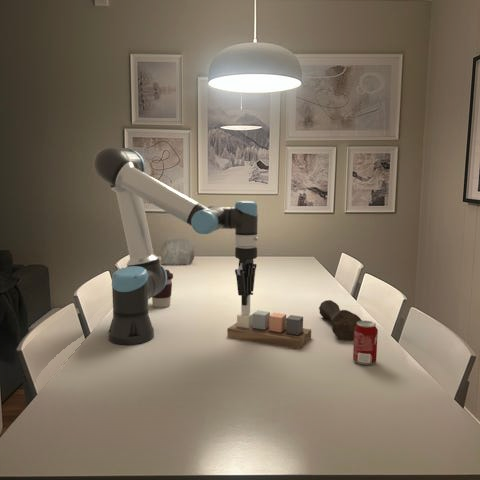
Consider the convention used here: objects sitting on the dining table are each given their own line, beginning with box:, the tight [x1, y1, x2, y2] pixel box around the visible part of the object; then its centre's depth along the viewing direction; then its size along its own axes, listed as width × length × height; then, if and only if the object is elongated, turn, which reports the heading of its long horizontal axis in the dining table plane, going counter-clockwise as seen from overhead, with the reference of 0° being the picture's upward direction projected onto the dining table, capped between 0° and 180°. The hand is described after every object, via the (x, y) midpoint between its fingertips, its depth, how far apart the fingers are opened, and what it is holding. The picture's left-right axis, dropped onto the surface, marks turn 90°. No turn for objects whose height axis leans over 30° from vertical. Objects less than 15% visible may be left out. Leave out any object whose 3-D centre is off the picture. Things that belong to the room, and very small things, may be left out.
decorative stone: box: [160, 236, 195, 266], centre depth 294 cm, size 17×20×10 cm
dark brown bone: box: [318, 299, 363, 341], centre depth 177 cm, size 11×10×28 cm
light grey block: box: [252, 310, 271, 330], centre depth 168 cm, size 4×4×5 cm
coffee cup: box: [151, 268, 174, 309], centre depth 204 cm, size 10×10×15 cm
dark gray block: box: [286, 314, 304, 335], centre depth 163 cm, size 4×4×5 cm
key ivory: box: [236, 312, 253, 328], centre depth 170 cm, size 4×4×5 cm
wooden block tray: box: [226, 322, 312, 350], centre depth 167 cm, size 12×26×3 cm, turn 65°
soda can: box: [352, 320, 379, 366], centre depth 145 cm, size 7×7×12 cm
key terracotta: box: [269, 312, 287, 332], centre depth 165 cm, size 4×4×5 cm
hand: (245, 313), depth 170 cm, fingers closed
